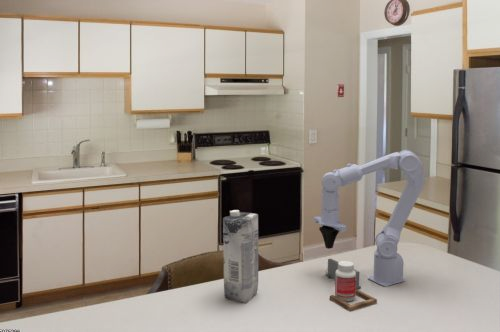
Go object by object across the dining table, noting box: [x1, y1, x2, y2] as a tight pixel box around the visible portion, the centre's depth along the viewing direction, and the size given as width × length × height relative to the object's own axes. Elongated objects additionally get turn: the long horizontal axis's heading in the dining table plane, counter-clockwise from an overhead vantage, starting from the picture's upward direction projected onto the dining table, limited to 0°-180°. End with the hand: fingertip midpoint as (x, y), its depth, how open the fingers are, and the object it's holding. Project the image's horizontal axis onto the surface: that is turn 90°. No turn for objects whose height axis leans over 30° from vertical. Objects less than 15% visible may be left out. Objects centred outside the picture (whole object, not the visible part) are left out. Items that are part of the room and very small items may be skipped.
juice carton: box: [222, 209, 259, 304], centre depth 143 cm, size 9×10×27 cm
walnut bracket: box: [329, 289, 378, 312], centre depth 141 cm, size 10×9×1 cm
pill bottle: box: [334, 260, 356, 303], centre depth 143 cm, size 6×6×11 cm
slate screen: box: [325, 258, 362, 291], centre depth 155 cm, size 3×14×6 cm, turn 30°
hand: (329, 247), depth 158 cm, fingers closed
